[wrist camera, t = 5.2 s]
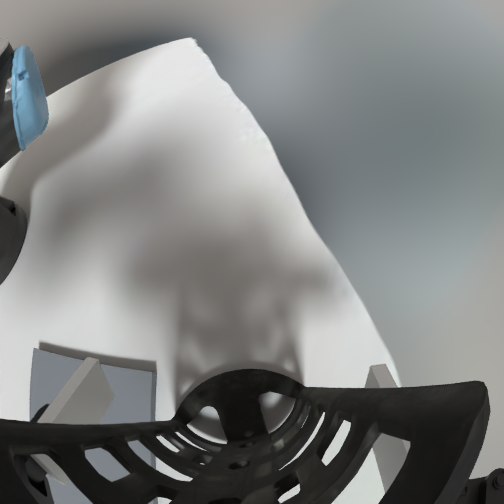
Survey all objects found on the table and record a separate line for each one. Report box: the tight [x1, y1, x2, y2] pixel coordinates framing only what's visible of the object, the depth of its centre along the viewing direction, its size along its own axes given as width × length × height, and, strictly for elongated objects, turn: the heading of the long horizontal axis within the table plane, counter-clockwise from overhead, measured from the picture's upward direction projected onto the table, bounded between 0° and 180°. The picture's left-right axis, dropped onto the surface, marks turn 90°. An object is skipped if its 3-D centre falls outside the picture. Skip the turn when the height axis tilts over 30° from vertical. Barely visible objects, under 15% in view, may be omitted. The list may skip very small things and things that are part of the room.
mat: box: [30, 348, 158, 504], centre depth 17 cm, size 18×15×1 cm
